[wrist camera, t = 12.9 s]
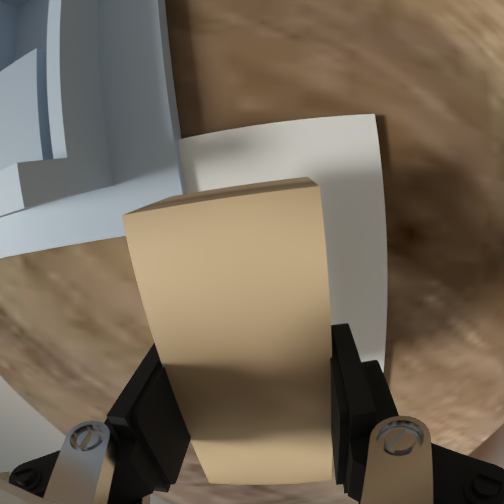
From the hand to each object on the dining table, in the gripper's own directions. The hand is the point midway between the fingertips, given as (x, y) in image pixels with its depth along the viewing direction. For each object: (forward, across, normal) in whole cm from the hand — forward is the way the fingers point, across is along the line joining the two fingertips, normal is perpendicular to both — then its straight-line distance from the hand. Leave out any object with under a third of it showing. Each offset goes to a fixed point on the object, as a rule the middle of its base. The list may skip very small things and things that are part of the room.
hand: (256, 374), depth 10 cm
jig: (+7, +10, -14) cm, 19 cm away
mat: (+7, 0, 0) cm, 7 cm away
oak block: (+2, 0, -1) cm, 2 cm away
